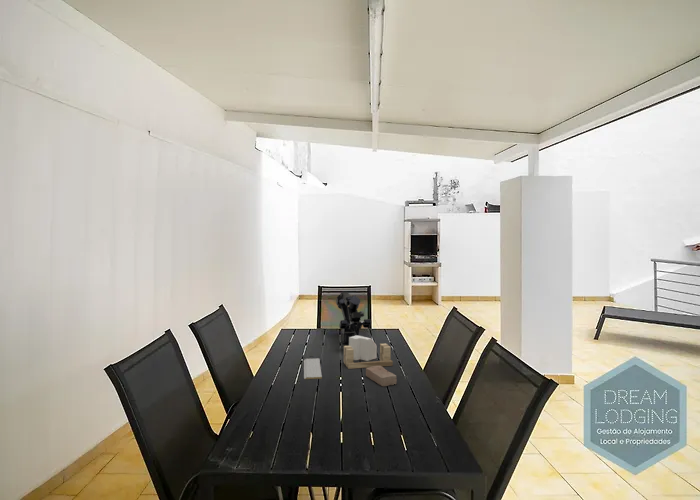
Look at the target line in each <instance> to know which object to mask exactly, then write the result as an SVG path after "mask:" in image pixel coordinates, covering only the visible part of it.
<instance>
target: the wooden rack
mask: <svg viewBox="0 0 700 500" xmlns="http://www.w3.org/2000/svg"><path fill="white" fill-rule="evenodd" d="M353 353H354V349H353V348H352V347H351V346H349V345H343V363H344V365H345V366H346V367H347V369H348V370H351V369H352V370H353V369H366V368H369V367H373V366H382V367H383V368H384V367H393V363H394V361H393V360H392V359H391V355H392V354H391V353H392V352H391V346H390V345H389V344H388V343H379V360H378V361H375V360H374V361H362V362H354V360H353Z"/></svg>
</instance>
